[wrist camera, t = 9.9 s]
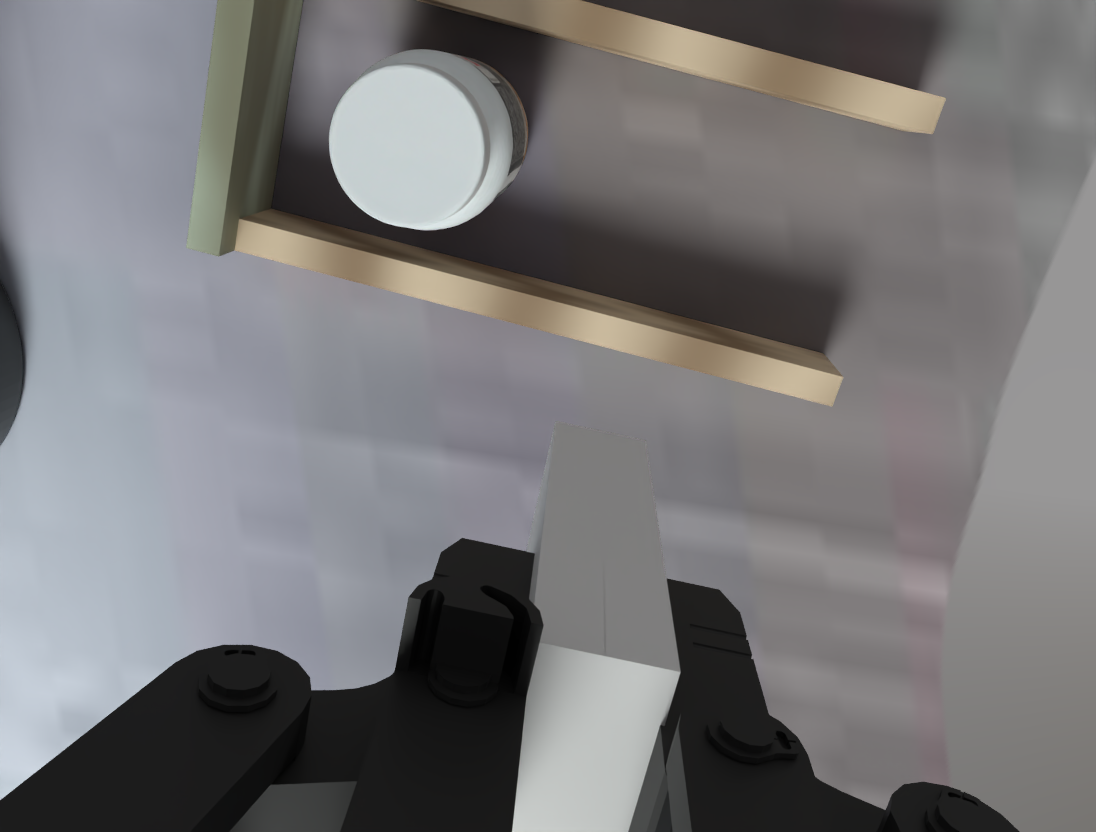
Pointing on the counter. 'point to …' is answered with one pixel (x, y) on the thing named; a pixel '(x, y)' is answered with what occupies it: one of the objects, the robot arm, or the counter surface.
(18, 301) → the counter surface
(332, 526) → the counter surface
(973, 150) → the counter surface
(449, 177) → the pill bottle
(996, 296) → the counter surface
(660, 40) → the bay
